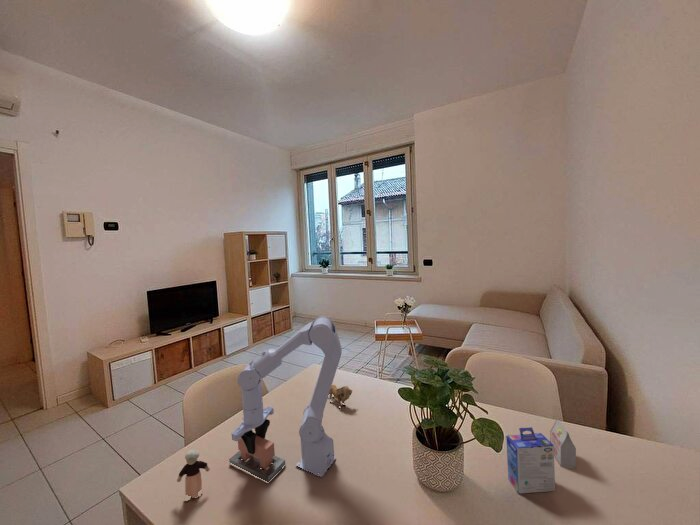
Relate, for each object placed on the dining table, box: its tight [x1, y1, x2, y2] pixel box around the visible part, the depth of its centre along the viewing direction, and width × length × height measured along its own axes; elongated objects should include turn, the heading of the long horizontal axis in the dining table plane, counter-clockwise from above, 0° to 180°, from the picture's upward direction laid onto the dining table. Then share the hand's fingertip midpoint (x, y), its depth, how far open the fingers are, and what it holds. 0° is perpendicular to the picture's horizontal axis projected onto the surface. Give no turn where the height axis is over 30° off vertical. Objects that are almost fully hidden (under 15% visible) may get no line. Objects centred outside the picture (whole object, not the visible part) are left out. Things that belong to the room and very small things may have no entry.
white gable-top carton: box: [549, 418, 577, 469], centre depth 83 cm, size 4×7×10 cm, turn 166°
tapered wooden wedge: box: [237, 436, 276, 470], centre depth 86 cm, size 12×3×6 cm, turn 62°
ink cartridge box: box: [505, 426, 556, 494], centre depth 74 cm, size 10×6×14 cm, turn 92°
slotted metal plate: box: [228, 450, 286, 482], centre depth 86 cm, size 16×7×2 cm, turn 62°
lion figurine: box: [329, 384, 353, 406], centre depth 117 cm, size 15×5×9 cm, turn 46°
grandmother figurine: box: [176, 448, 211, 499], centre depth 76 cm, size 8×4×13 cm, turn 126°
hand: (256, 448), depth 86 cm, fingers closed on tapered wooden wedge, 3 cm apart
